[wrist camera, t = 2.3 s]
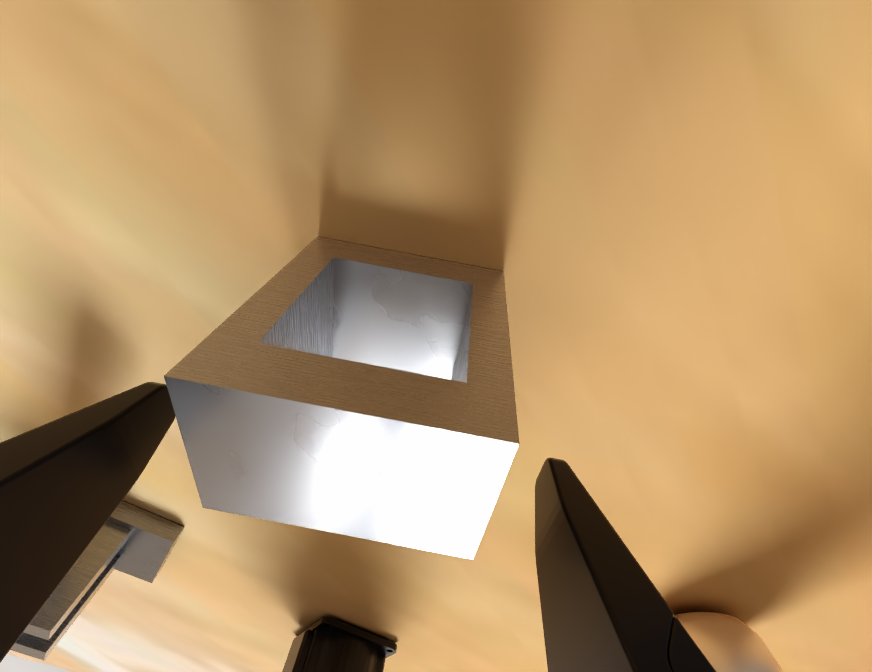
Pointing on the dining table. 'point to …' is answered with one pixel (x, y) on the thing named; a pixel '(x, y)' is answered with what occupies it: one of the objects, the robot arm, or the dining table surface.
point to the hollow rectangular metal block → (357, 399)
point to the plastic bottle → (728, 643)
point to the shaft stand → (101, 572)
